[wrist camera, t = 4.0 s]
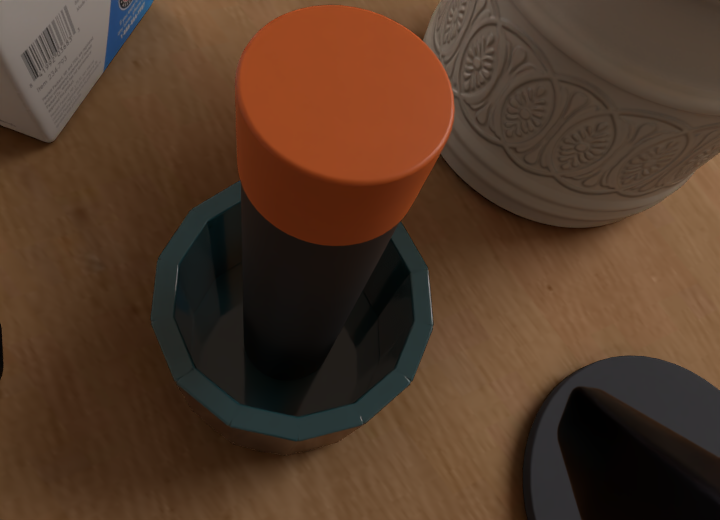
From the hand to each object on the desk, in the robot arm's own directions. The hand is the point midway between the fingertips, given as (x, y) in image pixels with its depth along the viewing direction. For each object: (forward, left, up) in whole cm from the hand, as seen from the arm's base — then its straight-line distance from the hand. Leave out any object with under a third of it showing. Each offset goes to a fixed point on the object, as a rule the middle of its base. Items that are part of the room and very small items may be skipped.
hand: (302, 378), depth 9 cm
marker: (+3, 0, -10) cm, 11 cm away
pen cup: (+3, 0, -11) cm, 11 cm away
